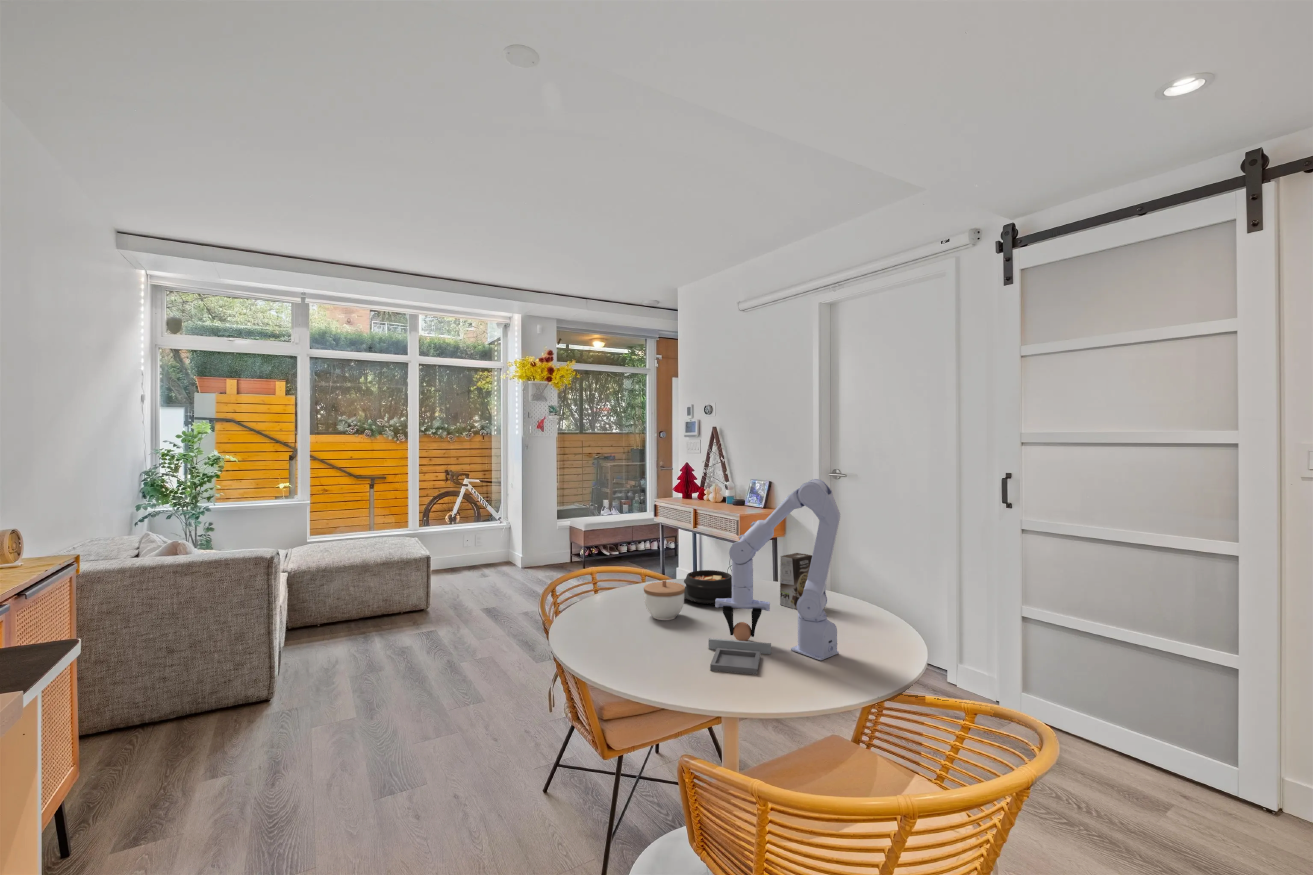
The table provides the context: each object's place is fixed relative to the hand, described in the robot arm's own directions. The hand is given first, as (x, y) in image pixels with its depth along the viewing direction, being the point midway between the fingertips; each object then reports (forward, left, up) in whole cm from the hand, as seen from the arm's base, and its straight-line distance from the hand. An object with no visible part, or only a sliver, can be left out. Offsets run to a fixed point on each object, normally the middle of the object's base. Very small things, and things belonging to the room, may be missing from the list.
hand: (742, 634), depth 162 cm
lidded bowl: (+29, +3, -2) cm, 30 cm away
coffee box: (+11, -38, -2) cm, 40 cm away
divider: (-4, +6, -2) cm, 8 cm away
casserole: (+33, -20, -2) cm, 39 cm away
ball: (0, 0, -2) cm, 2 cm away
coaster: (-10, +13, -2) cm, 16 cm away
